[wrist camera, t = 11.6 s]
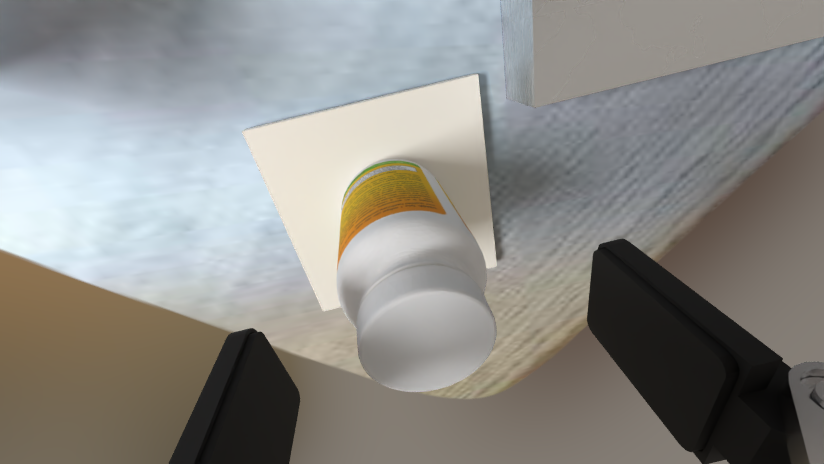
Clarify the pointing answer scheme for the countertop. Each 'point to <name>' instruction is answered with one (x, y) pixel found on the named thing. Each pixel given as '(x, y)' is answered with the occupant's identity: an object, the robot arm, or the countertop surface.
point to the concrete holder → (637, 40)
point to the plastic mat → (366, 144)
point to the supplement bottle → (411, 280)
